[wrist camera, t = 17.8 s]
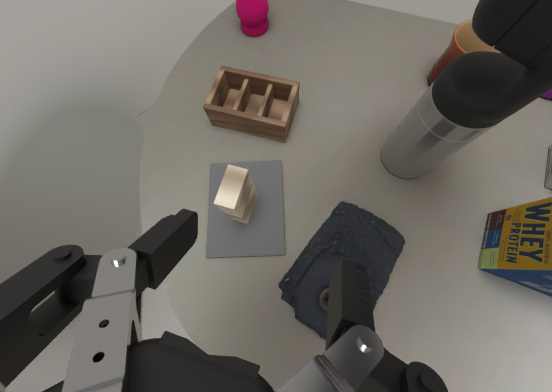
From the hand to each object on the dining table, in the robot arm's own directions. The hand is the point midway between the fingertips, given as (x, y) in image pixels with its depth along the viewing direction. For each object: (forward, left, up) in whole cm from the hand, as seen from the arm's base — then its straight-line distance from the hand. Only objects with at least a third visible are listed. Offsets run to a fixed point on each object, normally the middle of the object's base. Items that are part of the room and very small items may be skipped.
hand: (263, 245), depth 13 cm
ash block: (-2, -11, -30) cm, 32 cm away
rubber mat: (-2, -11, -31) cm, 33 cm away
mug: (-52, -2, -31) cm, 60 cm away
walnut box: (-17, -25, -31) cm, 43 cm away
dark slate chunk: (-7, +9, -31) cm, 33 cm away
